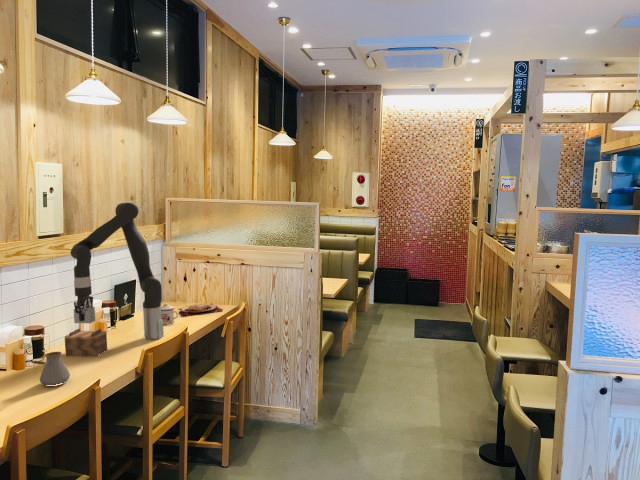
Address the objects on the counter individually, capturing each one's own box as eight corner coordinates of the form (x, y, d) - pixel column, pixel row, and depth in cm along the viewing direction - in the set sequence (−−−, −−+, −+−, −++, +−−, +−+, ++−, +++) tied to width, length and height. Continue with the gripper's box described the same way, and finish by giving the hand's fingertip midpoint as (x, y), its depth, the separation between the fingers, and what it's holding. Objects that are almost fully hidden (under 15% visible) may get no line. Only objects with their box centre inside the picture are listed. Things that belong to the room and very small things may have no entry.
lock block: (95, 320, 254) (94, 306, 253) (90, 323, 249) (89, 309, 248) (79, 320, 255) (78, 306, 254) (73, 323, 250) (72, 309, 249)
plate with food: (223, 312, 335) (223, 307, 335) (183, 317, 323) (183, 311, 322) (212, 305, 357) (212, 300, 357) (174, 309, 344) (174, 304, 344)
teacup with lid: (156, 324, 306) (155, 305, 305) (163, 320, 315) (162, 301, 314) (175, 324, 304) (174, 305, 303) (181, 320, 313) (180, 302, 312)
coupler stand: (107, 350, 258) (106, 328, 257) (97, 356, 248) (95, 334, 247) (77, 349, 259) (75, 328, 258) (65, 356, 249) (64, 333, 248)
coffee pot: (49, 378, 220) (47, 344, 219) (75, 378, 220) (73, 344, 218) (19, 399, 199) (16, 361, 197) (47, 399, 198) (45, 361, 197)
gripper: (82, 288, 243) (84, 323, 244) (97, 282, 257) (99, 315, 259) (67, 288, 243) (69, 323, 245) (83, 282, 257) (85, 315, 259)
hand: (84, 319), depth 252 cm, fingers closed on lock block, 5 cm apart
